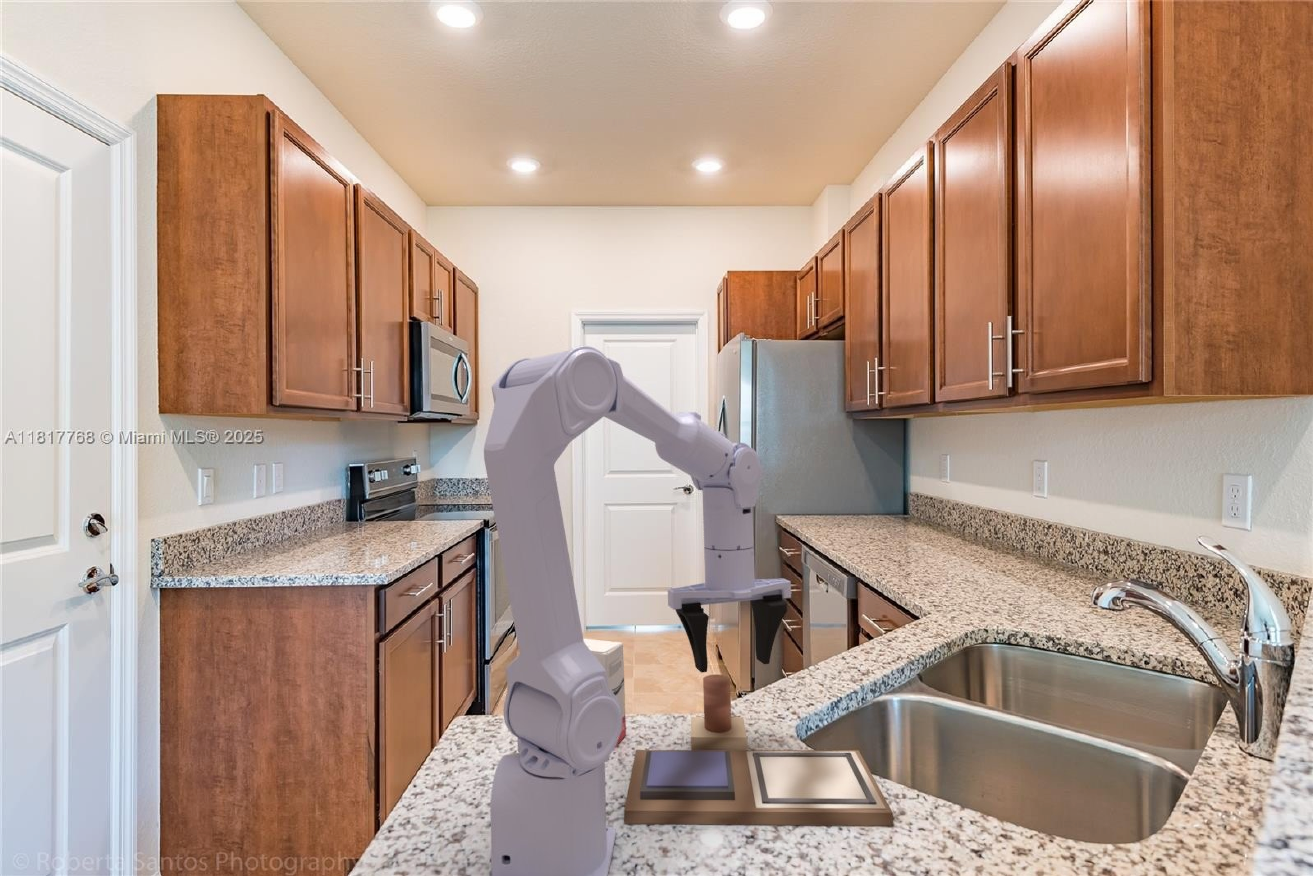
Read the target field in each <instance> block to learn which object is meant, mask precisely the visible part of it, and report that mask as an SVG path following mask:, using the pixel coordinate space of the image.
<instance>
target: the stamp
mask: <svg viewBox="0 0 1313 876" xmlns="http://www.w3.org/2000/svg"><path fill="white" fill-rule="evenodd" d="M702 685H703V687H702V688H703V691H702V692H703V716H691V717H690V718H691V719H690V724H691V725H690V748H691V749H690V750H748V735H747V731H746V724H745V720H744V717H743V716H732V703H731V701H732V698H731V678H730V677H729V676H727V675H723V674H708V675H706V676H704V677H703V679H702Z"/></svg>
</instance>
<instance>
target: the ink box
mask: <svg viewBox="0 0 1313 876" xmlns="http://www.w3.org/2000/svg"><path fill="white" fill-rule="evenodd" d="M583 641H584V643H585V644H586V646H587V647H588V648H589V650H590V651H591V652H592V653H593V654H594V656H595V657H596V658H597V659H598V661H599V662H600V663H601V665H602V666H603V667H604V669H605V670H606V675H607V680H608V684H609V687H610V689H611V691H612V692H613V694H614V695H615V696H616V697H617V699H618V701H619V703H620V706H621V709H622V728H621V733H620V736H619V739H618V742H617V744H616V746H617V745H618V744H620V743H621V741H622V740H624V739H625V737H626V736H627V728H626V725H627V723H626V722H627V721H626V698H625V697H626V693H625V692H626V691H625V690H626V689H625V670H624V669H625V667H624V665H625V663H624V661H625V660H624V643H623V642H622V641H621V642H619V641H609V640H602V639H601V640H599V639H593V638H592V639H590V638H584V637H583Z"/></svg>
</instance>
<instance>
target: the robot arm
mask: <svg viewBox="0 0 1313 876" xmlns="http://www.w3.org/2000/svg"><path fill="white" fill-rule="evenodd" d="M491 391H492V392H491V393H492V398H493V404H494V406H493V409H492V414H491V417H490V423H489V426H488V429H487V434H486V437H485V441H484V446H483V460H484V466H485V471H486V477H487V482H488V487H489V492H490V499H491V504H492V509H493V515H494V520H495V526H496V531H497V537H498V542H499V547H500V553H501V559H502V564H503V570H504V575H505V581H506V585H507V586H506V587H507V593H508V598H509V603H510V608H511V614H512V620H513V624H514V630H515V636H516V641H517V648H518V652H519V653H518V654H517V655H516V656H515V657H514V658H513V660H511V662H510V663H509V664H507V666H506V667H505V675H506V682H507V683H506V684H507V687H506V694H505V699H504V703H503V710H502V711H503V718H504V719H503V720H504V724H505V726H506V728H507V729H508V731H509V732H510V733H511V734H512V735H513V736H514V737H516V738H517V752H516V753H510V754H504V755H503V756H502V757H501V758H500V760H499V762H498V763H497V765H496V770H495V772H494V775H493V776H494V777H493V781H492V787H491V793H490V807H489V808H490V849H491V851H490V852H491V853H490V854H491V855H490V857H491V859H490V861H491V862H490V863H491V876H608V875H609V871H610V867H611V861H612V856H613V851H614V847H615V843H616V838H617V837H616V836H617V828H616V827H614V826H607V808H606V807H607V806H606V805H607V804H606V802H607V800H606V764H605V763H606V762H608V761H610V755H611V754H612V753H613V752H614V750H615V747H616V746H617V745H618V744H617V742H618V739H619V736H620V733H621V728H622V709H621V706H620V703H619V701H618V699H617V697H616V696H615V695H614V694H613V692H612V691H611V689H610V687H609V684H608V680H607V675H606V670H605V669H604V667H603V666H602V665H601V663H600V662H599V661H598V659H597V658H596V657H595V656H594V654H593V653H592V652H591V651H590V650H589V648H588V647H587V646H586V644H585V643H584V641H583V638H584V636H583V629H582V624H581V619H580V613H579V607H578V600H577V594H576V588H575V583H574V577H573V571H572V566H571V560H570V553H569V549H568V547H569V546H568V543H567V536H566V529H565V524H564V518H563V513H562V507H561V500H560V495H559V488H558V482H557V477H556V471H555V470H556V469H555V464H556V462H557V461H558V460H559V458H560V457H561V456H562V454H563V453H564V451H565V450H566V448H567V447H568V446H569V444H570V443H571V442H573V440H575V439H577V438H578V437H579V436H580V435H582V434H583V433H584V432H586V431H587V430H588V429H589V428H591V427H592V426H594V425H595V424H596V423H597V422H599V421H600V420H601V419H603V418H606V419H608V420H610V421H612V422H614V423H616V424H618V425H620V426H622V427H624V428H626V429H628V430H629V431H632V432H634V433H635V434H638V435H640V436H642V437H644V438H645V439H647V440H649V441H651V442H653V443H654V447H655V451H656V453H657V455H658V457H659V458H660V459H661V460H662V461H664V462H666V463H668V464H669V465H671V466H673V467H675V468H676V469H678V470H679V471H682V472H683V473H685V474H687V475H688V476H690V478H691V481H692V484H693V485H694V487H695V488H696V489H697V491H702V493H701V494H702V517H703V519H702V520H703V522H702V523H703V547H704V548H703V554H704V556H703V557H704V582H701V583H696V584H690V585H686V586H680V587H675V588H672V587H671V588H667V606H668V607H670V609H672V610H675V613H676V615H677V616H678V618H679V620H680V623H681V624H682V627H683V629H684V631H685V634H686V636H687V638H688V641H689V645H690V648H691V652H692V656H693V660H694V667H695V668H696V670H698V671H699V672H700V673H708V662H709V661H708V651H707V650H708V649H707V638H708V637H707V635H708V628H709V627H708V625H709V618H710V616H709V615H708V614H707V613H705V612H704V607H702V606H708V605H716V604H726V603H737V602H745V601H747V602H748V601H750V604H751V609H752V613H753V614H752V616H753V623H754V630H755V631H754V633H755V634H754V638H755V639H754V641H755V642H754V643H755V656H756V660H757V661H759V662H760V663H761V664H763V665H769V664H770V661H771V656H772V651H773V645H774V642H775V639H776V635H777V632H778V630H779V627H780V625H781V623H782V621H783V619H784V617H785V616H786V613H788V602H787V601H785V600H783V599H791V598H792V585H791V584H792V583H791V580H788V579H786V578H783V577H781V578H767V579H766V578H761V579H756V578H755V577H756V576H755V575H756V573H755V570H756V569H755V549H754V548H755V546H754V545H755V543H754V542H755V540H754V516H753V515H754V513H753V511H754V510H753V508H754V507H756V504H757V503H756V502H758V488H759V485H760V483H761V481H762V480H761V479H762V478H763V477H762V475H763V466H762V465H761V462H760V458H759V455H758V453H757V452H756V450H755V449H754V448H753V447H751V446H750V445H748V444H747V443H744V442H732V441H731V440H729V439H728V438H727V437H726V434H725V433H724V432H722V431H717V430H715V429H713V428H712V427H710V426H709V425H708V424H706V423H704V422H703V421H702V415H701V414H699V413H698V412H696V411H687V412H686V411H683V412H677V413H674V414H673V413H671V411H669V410H668V409H667V408H665V407H664V406H662V405H661V403H659V402H657V401H656V400H655V399H653V398H652V397H651V396H650V395H649V394H647V393H646V392H645V391H643V390H642V389H641V388H639V387H638V386H637V385H636V384H635V383H633V382H632V381H631V380H630V379H628V378H627V377H626V376H624V374H623V370H622V366H621V364H620V363H619V362H618V361H616V360H613V359H611V358H608V357H607V356H606V355H605V354H604V353H603V352H602V351H600V350H599V349H597V348H595V347H592V346H589V345H579V346H576V347H573V348H571V349H568V350H565V351H561V352H557V353H552V354H547V355H544V356H543V355H542V356H538V357H534V358H523V359H521V358H520V359H518V360H516V361H514V362H512V363H511V364H510V365H509V366H508V367H507V368H506V369H505V370H504V371H503V372H502V374H501V375H500V376H499V377H498V378H497V379H496V380H495V382H494V383H492V385H491ZM616 744H617V745H616Z"/></svg>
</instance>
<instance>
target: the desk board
mask: <svg viewBox="0 0 1313 876" xmlns="http://www.w3.org/2000/svg"><path fill="white" fill-rule="evenodd" d="M633 759H634V760H633V763H632V768H631V774H630V778H629V783H628V789H627V792H626V793H627V794H626V799H625V804H624V808H623V823H624V825H625V824H627V825H628V824H629V825H630V824H633V825H634V824H637V825H639V824H640V825H641V824H642V825H643V824H646V825H647V824H648V825H649V824H650V825H654V824H655V825H656V824H657V825H661V824H662V825H737V826H738V825H749V826H750V825H754V826H755V825H756V826H758V825H759V826H763V825H764V826H853V827H854V826H856V827H857V826H858V827H859V826H861V827H862V826H864V827H865V826H866V827H867V826H868V827H870V826H871V827H872V826H873V827H874V826H875V827H877V826H880V827H894V812H893V810H892V809H891V807H890V805H889V803H888V802H887V800H886V799H887V798H886V797H885V796H884V794H883V792H882V790H881V789H880V787H879V785H878V784H877V782H876V780H875V778H874V776H873V774H872V773H871V770H870V769H869V767H868V765H867V763H866V761H865V759H864V758H863V756H862V754H861V753H860V750H854V749H853V750H847V749H846V750H841V749H840V750H839V749H838V750H837V749H834V750H831V749H826V750H824V749H823V750H822V749H821V750H820V749H817V750H816V749H815V750H813V749H811V750H810V749H809V750H808V749H804V750H803V749H801V750H800V749H795V750H794V749H789V750H787V749H783V750H782V749H779V750H778V749H773V750H771V749H770V750H769V749H767V750H766V749H759V750H758V749H757V750H756V749H754V750H753V749H747V750H691V749H636V750H635V754H634V757H633Z"/></svg>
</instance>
